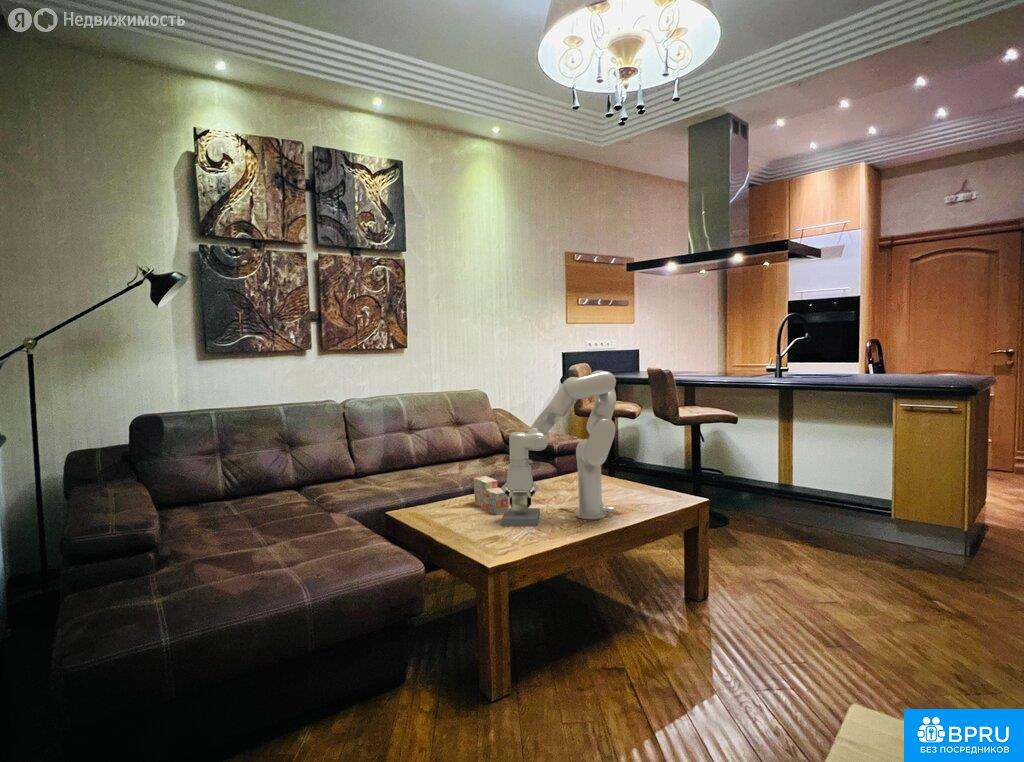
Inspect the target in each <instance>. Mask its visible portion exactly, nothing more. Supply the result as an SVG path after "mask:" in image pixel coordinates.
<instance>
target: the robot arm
mask: <svg viewBox="0 0 1024 762" xmlns="http://www.w3.org/2000/svg"><path fill="white" fill-rule="evenodd" d="M616 384H617V379H616V377H615V376H614V374H613V373H612V372H610V371H607V370H606V371H605V370H601V369H600V370H594V371H592V372H591V373H590V374H589V375H586V376H579V377H576V376H570V377H568V378H566V379H565V380H564V381H563V383H562V384H561V386H560V387H559V389H558V390H557V392H556V393H555V395H554V396H553V398H551V400H550V402H549V403H548V405H547V406H545V408H544V409H543V411H542V412H541V413H540V414H539V415H538V417H537V418H536V419H535V421H534V422H533V424H531V426H530V428H529V429H528V432H524V431H514V432H511V433H509V436H508V437H509V438H508V439H509V440H508V441H509V445H508V446H509V465H508V466H507V467H508V468H507V474H506V475H507V476H506V477H507V479H506V480H507V481H506V482H505V483H504V484H502V486H501V487H500V488H501V490H502V491H504V492H505V494H506V495H507V496H508V503H509V506H510V508H512V494H513V492H526V493H527V495H528V498H527V507H528V508H531V507H530V506H531V505H532V497H533V496H534V495H535V494H536V493H537V492H538V491H539V490H540V487H539V486H538V485H537V484H536V483H535V482H534V480H533V473H532V472H533V471H532V467H531V465H530V464H533V459H530V457H529V451H536V452H537V451H539V452H540V451H543V450H545V449H546V448H547V446H548V444H549V439H548V437H547V435H549V432H550V431H551V430H552V428H553V427H554V426H555V425H556V424H558V423H559V422H562V420H564V419H565V418H566V417H567V416H568V414H569V413H570V411H571V409H573V407H574V406H575V404H576V402H577V401H578V400H583V399H589V398H592V397H593V398H594V397H595V398H594V403H593V405H592V410H591V412H590V414H589V417H588V420H587V423H586V431H587V432H588V434H589V435H588V438H584V439H581V440H580V441H579V442H578V444H577V445H576V449H575V457H576V465H577V485H578V486H577V488H578V491H577V492H578V509H577V510H576V511H575V512H574V513H575V517H577V518H578V519H582V520H601V519H603V518H606V516H607V512H610V513H611V512H612V513H613V512H614V506H611V505H605V504H604V503H603V496H602V493H603V491H602V488H603V487H602V467H601V466H602V465H603V464H604V463H605V462H606V460H607V458H608V455H609V453H610V450H611V447H612V444H613V442H614V439H615V434H616V425H615V422H614V421H613V420H612V418H613V416H614V415H613V414H614V411H615V408H616V403H617V394H616V390H615V388H616ZM533 488H534V489H533ZM532 489H533V490H532ZM531 490H532V491H531Z"/></svg>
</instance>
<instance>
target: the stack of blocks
mask: <svg viewBox="0 0 1024 762" xmlns="http://www.w3.org/2000/svg"><path fill="white" fill-rule="evenodd" d="M473 492H474V493H473V494H474V504H475V505H476V504H477V506H478V505H479V506H478V507H480V506H481V507H480V508H482V509H484V510H486V511H488V510H489V511H488V512H490V513H491V514H493V513H494V515H495V514H496V516H498V514H499V515H504V514H503V513H504V512H505V510H506V508H510V507H509V506H510V503H509V497H508V496H507V495H506V494H505V492H504V491H502V490H501V487H499V481H498V479H495V478H492V477H490V476H488V475H484V476H482V475H481V476H476V477H473Z"/></svg>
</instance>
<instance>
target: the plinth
mask: <svg viewBox="0 0 1024 762" xmlns="http://www.w3.org/2000/svg"><path fill="white" fill-rule="evenodd" d="M539 516H541V508H540V507H529V508H528V510H527V511H514V510H512V508H511V507H509V508H506V510H505V512H504V514H502V516H501V527H538V525H539V524H538V523H539V521H538V520H540V517H539Z"/></svg>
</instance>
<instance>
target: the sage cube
mask: <svg viewBox="0 0 1024 762" xmlns="http://www.w3.org/2000/svg"><path fill="white" fill-rule="evenodd" d="M527 498H528V495H527V493H526V491H513V494H512V510H514V511H527V510H528V507H527Z"/></svg>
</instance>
